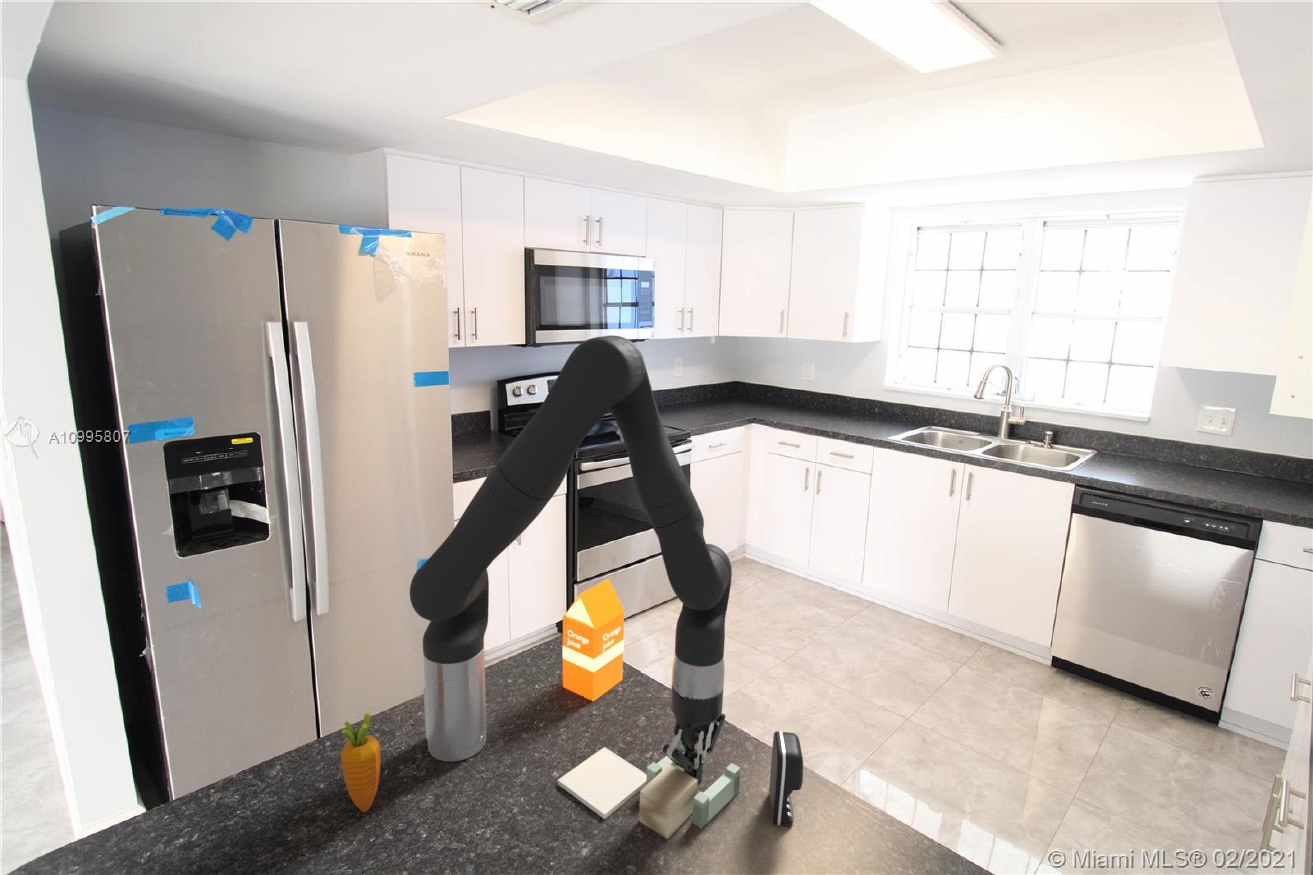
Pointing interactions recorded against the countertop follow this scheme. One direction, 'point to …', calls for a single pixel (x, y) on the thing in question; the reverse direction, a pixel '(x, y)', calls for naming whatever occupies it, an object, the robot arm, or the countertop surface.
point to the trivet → (603, 782)
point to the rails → (712, 798)
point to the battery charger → (784, 776)
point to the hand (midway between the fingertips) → (692, 783)
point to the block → (667, 801)
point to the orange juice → (593, 642)
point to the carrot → (361, 764)
